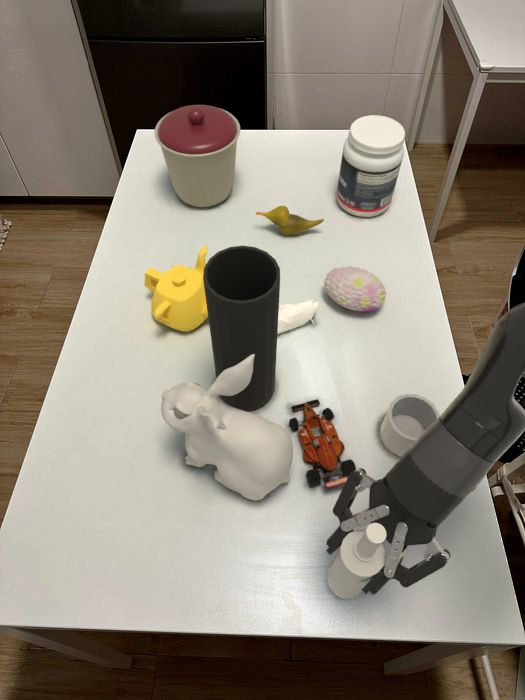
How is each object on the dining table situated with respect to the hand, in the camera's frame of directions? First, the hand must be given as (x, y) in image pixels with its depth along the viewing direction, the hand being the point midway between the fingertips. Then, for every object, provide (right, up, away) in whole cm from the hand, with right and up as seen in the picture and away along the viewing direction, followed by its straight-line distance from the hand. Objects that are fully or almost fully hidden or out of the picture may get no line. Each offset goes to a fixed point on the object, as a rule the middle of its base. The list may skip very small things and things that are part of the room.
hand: (348, 569), depth 61 cm
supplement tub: (+13, +61, +60) cm, 87 cm away
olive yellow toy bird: (-4, +52, +54) cm, 76 cm away
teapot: (-25, +34, +42) cm, 59 cm away
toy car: (0, +10, +26) cm, 28 cm away
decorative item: (+8, +36, +43) cm, 57 cm away
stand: (+14, +12, +27) cm, 32 cm away
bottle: (+1, -6, +12) cm, 14 cm away
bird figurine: (-5, +31, +40) cm, 50 cm away
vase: (-13, +19, +32) cm, 40 cm away
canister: (-24, +64, +62) cm, 92 cm away
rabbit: (-15, +8, +24) cm, 30 cm away
